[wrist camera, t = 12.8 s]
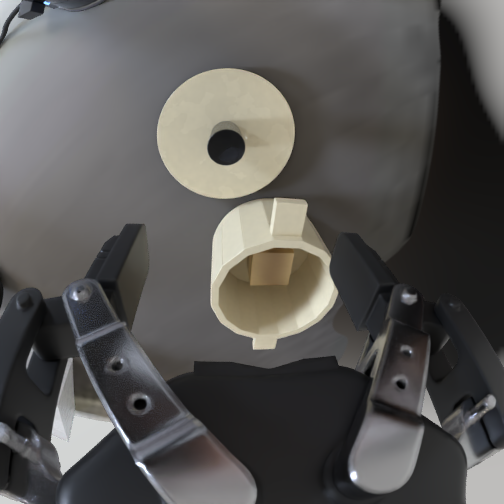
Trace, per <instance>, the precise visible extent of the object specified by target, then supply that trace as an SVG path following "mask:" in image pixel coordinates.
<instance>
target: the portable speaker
mask: <svg viewBox="0 0 504 504" xmlns="http://www.w3.org/2000/svg"><path fill="white" fill-rule="evenodd" d="M2 299H3V285H2V282H1V281H0V308H1V304H2Z"/></svg>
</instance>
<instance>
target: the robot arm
mask: <svg viewBox="0 0 504 504" xmlns="http://www.w3.org/2000/svg"><path fill="white" fill-rule="evenodd" d="M104 1H105V0H22V2H21V3H20V4H19V5H18V6H17V7H16V8H15V9H14V10H13V12H12V13H11V14H10V15H9V17H8V18H7V20H6V22H5V24H4V26H3V30H2V34H1V36H0V44H1V43H2V41H3V40H4V38H5V36H6V34H7V31H8V27H9V24H10V22H11V21H12V19H13V18H14V17H15V15H16V14H17V13H18V12H19V14H18V17H19V18H25V19H33V18H35V17H37V16H40V15H42V14H43V13H44V8H45V6H47V7H50V8H53V9H55V8H58V7H60V8H62V9H65V10H68V11H82V10H86V9H89V8H92V7H94V6H96V5H98V4H100V3H102V2H104ZM148 270H149V253H148V244H147V235H146V227H145V225H144V224H126V225H125V226H124V228H123V230H122V231H121V233H120V235H119V236H113V237H112V238H110V239H109V240H108V241H106V242H105V244H104V245H103V247H102V248H101V251H100V252H99V253H98V255H97V258H95V260H94V262H93V264H92V265H91V267H90V269H89V271H88V272H87V274H86V276H85V278H84V279H80V280H77V281H74V282H73V283H71V284H70V285H68V286H67V287H66V289H65V290H64V292H63V294H62V296H60V297H55V298H49V299H43V297H42V294H41V292H40V291H39V290H38V289H36V288H26V289H23V290H21V291H19V292H18V293H16V294H15V295H14V296H13V298H12V299H11V300H10V302H9V304H8V306H7V308H6V309H5V311H4V313H3V315H2V317H1V319H0V495H2V496H4V497H7V498H10V499H12V500H15V501H20V502H22V503H24V504H466V496H465V493H466V477H467V470H468V469H470V468H472V467H473V466H475V465H477V464H479V463H481V462H482V461H484V460H486V459H487V458H489V457H491V456H493V455H494V454H496V453H497V452H499V451H500V450H502V449H504V367H503V366H502V364H501V362H500V360H499V358H498V357H497V355H496V353H495V352H494V350H493V348H492V347H491V345H490V344H489V342H488V340H487V338H486V337H485V335H484V334H483V332H482V331H481V329H480V328H479V326H478V324H477V323H476V321H475V320H474V319H473V317H472V316H471V314H470V313H469V311H468V310H467V308H466V307H465V306H464V304H463V303H462V302H461V301H460V300H459V299H458V298H456V297H455V296H453V295H451V294H442V295H441V296H440V297H439V299H438V301H437V303H433V302H428V301H425V300H424V298H423V295H422V294H421V293H420V292H419V291H418V290H417V289H415V288H414V287H412V286H410V285H407V284H400V283H399V282H398V280H397V279H396V278H395V276H394V275H393V274H392V272H391V271H390V270H389V268H388V267H387V266H386V264H385V263H384V262H383V260H381V258H380V256H379V255H378V254H377V253H376V251H374V250H373V249H372V248H370V247H369V246H368V245H366V244H365V242H364V241H363V240H362V239H361V237H360V236H359V235H358V234H357V233H344V232H341V233H340V234H339V235H338V237H337V240H336V244H335V247H334V251H333V254H332V257H331V261H330V265H329V272H330V276H331V278H332V280H333V282H334V284H335V286H336V288H337V290H338V292H339V294H340V296H341V298H342V300H343V303H344V305H345V307H346V309H347V311H348V313H349V315H350V317H351V319H352V321H353V323H354V325H355V328H356V330H357V331H363V330H369V332H370V333H369V335H368V337H367V338H366V341H365V344H364V347H363V350H362V353H361V356H360V358H359V361H358V364H357V366H356V369H355V370H354V369H351V368H348V367H343V366H339V365H338V362H337V360H336V357H335V356H329V357H320V358H309V359H302V360H299V361H296V362H292V363H289V364H286V365H282V366H279V367H276V368H271V369H266V368H260V367H255V366H249V365H244V364H239V363H234V362H200V361H194V372H190V373H186V374H182V375H179V376H177V377H174V378H172V379H170V380H168V381H166V382H165V380H164V379H163V378H162V376H161V375H160V374H159V372H158V371H157V369H156V368H155V367H154V365H153V364H152V362H151V361H150V360H149V358H148V357H147V355H146V354H145V352H144V351H143V349H142V348H141V346H140V345H139V343H138V342H137V340H136V339H135V337H134V335H133V334H132V332H131V329H132V325H133V321H134V318H135V314H136V311H137V307H138V304H139V300H140V297H141V293H142V290H143V287H144V284H145V280H146V277H147V274H148ZM449 338H450V339H451V341H452V343H453V344H454V346H455V348H456V350H457V352H458V356H459V358H458V362H457V364H456V365H455V367H454V368H453V369H452V368H451V365H450V363H449V362H448V360H447V358H446V356H445V354H444V352H443V350H442V347H443V346H444V344H445V343H446V342H447V340H448V339H449ZM31 348H32V349H33V353H32V356H31V358H30V361H29V364H28V367H27V369H26V363H27V359H28V356H29V354H30V351H31ZM73 357H81V360H82V362H83V365H84V367H85V369H86V372H87V374H88V376H89V378H90V380H91V383H92V385H93V387H94V389H95V391H96V393H97V395H98V397H99V399H100V401H101V403H102V405H103V407H104V409H105V410H106V412H107V414H108V416H109V418H110V420H111V421H112V423H113V425H114V426H115V428H114V429H113V430H112V431H111V432H110V433H109V434H108V435H107V436H106V437H105V438H103V439H102V440H101V441H100V442H99V443H98V444H97V445H96V446H95V447H94V448H92V449H91V450H90V451H89V452H88V453H87V454H86V455H85V456H84V457H83V458H82V459H80V460H79V461H78V462H77V463H76V464H75V465H73V466H72V467H71V468H70V469H69V470H68V471H67V472H66V473H65V474H64V475H62V473H61V471H60V467H61V466H60V462H59V457H58V453H57V451H56V448H55V447H54V445H53V444H52V443H51V435H52V428H53V422H54V417H55V412H56V407H57V402H58V397H59V393H60V389H61V384H62V380H63V376H64V373H65V369H66V365H67V362H68V358H73ZM426 388H427V390H428V393H429V395H430V398H431V400H432V403H433V405H434V407H435V410H436V413H437V415H438V418H439V421H440V424H441V426H442V428H441V427H439V426H438V425H436V424H435V423H433V422H432V421H430V420H429V419H428V418H426V417H425V416H423V415H422V414H421V412H422V407H423V401H424V395H425V389H426Z"/></svg>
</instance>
